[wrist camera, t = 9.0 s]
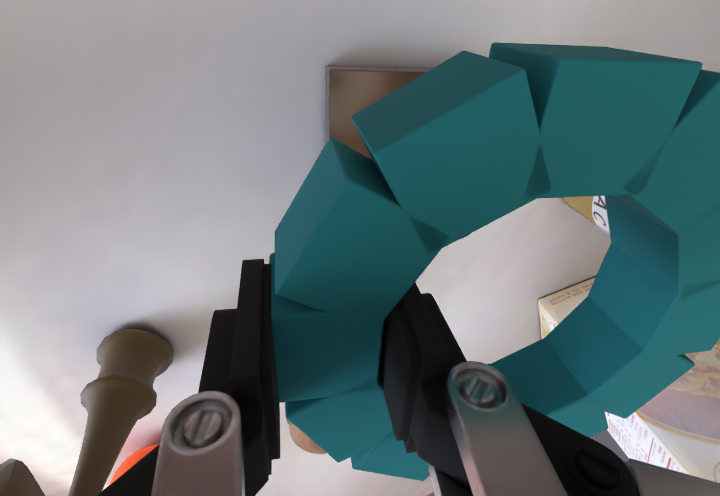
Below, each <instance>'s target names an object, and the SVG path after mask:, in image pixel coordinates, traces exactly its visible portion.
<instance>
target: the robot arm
mask: <svg viewBox="0 0 720 496" xmlns="http://www.w3.org/2000/svg"><path fill="white" fill-rule="evenodd" d="M271 265H272V264H264V259H254V260H243V262H242V270H241V279H240V288H239V296H238V305H237V309H226V310H215V311H214V313H213V317H212V323H211V328H210V333H209V339H208V344H207V349H206V354H205V360H204V365H203V370H202V376H201V381H200V386H199V392H198V394H194V395H192V396H190V397H188V398H186V399H184V400H183V401H181V402H180V403H179V404H178V405H177V406H175V407H174V408H173V409H172V411H171V412H170V413H169V415H168V416H167V418H166V419H165V422H164V425H163V428H162V433H161V439H160V444H159V445H158V446H156V447H155V448H154V449H153V450H152V451H150V452H149V453H148V454H147V455H146V456H144V457H143V458H142V459H141V460H139V461H138V462H137V463H136V464H135V465H133V466H132V467H131V468H130V469H129V470H127V471H126V472H125V473H124V474H123V475H121V476H120V477H119V478H118V479H117V480H115V481H114V482H113V483H112V484H110V485H109V486H108V487H107V488H106V489H104V490H103V491H102V492H101V493H100V494H98V495H97V496H255V495H256V494H257V493H258V491H259V490H260V489H261V488H262V487H263V486H264V485H265V483H266V482H267V481H268V475H270V474H271V460H273V459H280V409H279V395H278V385H277V374H276V364H275V353H274V343H273V332H272V321H271ZM379 374H380V377H381V381H382V384H383V394H384V398H385V401H386V405H387V409H388V412H389V416H390V420H391V423H392V427H393V431H394V434H395V437H396V440H397V441H401V440H403V441H404V445H405V448H406V452H407V453H413V452H417V454H418V457H420V458H421V459H423V460H424V461H426V462H427V463H428V470H429V474H430V478H431V482H432V486H433V490H434V494H435V496H720V483H717V482H714V481H710V480H707V479H703V478H699V477H696V476H692V475H689V474H685V473H681V472H678V471H674V470H671V469H667V468H663V467H660V466H656V465H653V464H649V463H646V462H642V461H638V460H635V459H631V458H630V459H629V460H628V462H623V461H622V460H621V459H620V458H619V457H618V456H617V455H616V454H615V453H614V452H612V450H610V449H608V448H607V447H605V446H604V445H602V444H600V443H599V442H597V441H595V440H593V439H591V438H589V437H587V436H585V435H583V434H581V433H579V432H577V431H575V430H573V429H571V428H569V427H567V426H565V425H563V424H561V423H560V422H558V421H556V420H554V419H552V418H550V417H548V416H546V415H544V414H542V413H540V412H538V411H536V410H534V409H532V408H530V407H528V406H526V405H524V404H522V403H520V401H519V399H518V397H517V395H516V393H515V391H514V389H513V387H512V385H511V384H510V382H509V381H508V379H507V378H506V377H505V376H504V375H503V374H502V373H501V372H500V371H498V370H497V369H495V368H493V367H492V366H490V365H487V364H484V363H481V362H474V361H468V362H467V360H466V359H465V357H464V355H463V353H462V351H461V349H460V347H459V345H458V343H457V341H456V339H455V338H454V336H453V334H452V332H451V330H450V328H449V326H448V324H447V322H446V320H445V319H444V317H443V315H442V313H441V311H440V309H439V307H438V305H437V303H436V301H435V299H434V298H433V296H432V295H431V294H429V293H425V294H421V293H420V291H419V289H418V287H417V285H416V283H415V282H414V284H413V285H412V286H411V287H410V289H409V290H408V291H407V292H406V294H405V295H404V296H403V297H402V299H401V300H400V301H399V302H398V304H397V305H396V306H395V307H393V310H392V311H391V312H390V314H389V315H388V316H387V317H386V319H385V320H384V327H383V336H382V346H381V355H380V365H379Z"/></svg>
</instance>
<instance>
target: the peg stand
mask: <svg viewBox="0 0 720 496" xmlns="http://www.w3.org/2000/svg"><path fill="white" fill-rule="evenodd" d="M431 69H433V68H397V67H361V66H326V143H327V142H328V140H329V138H330V137H333V138H335V139H337V140H338V141H340V142H342V143H343V144H345V145H347V146H349V147H350V148H352V149H354V150H356V151H357V152H359V153H361V154H363V155H364V156H366V157H368V158H370V159H371V160H372V158H371V156H370V154H369V152H368V151H367V149H366V147H365V145H364V143H363V141H362V139H361V137H360V135H359V133H358V131H357V130H356V128H355V126H354V124H353V122H352V120H351V116H352V115H354V114H356V113H358V112H359V111H361V110H363V109H364V108H366V107H368V106H370V105H371V104H373V103H375V102H376V101H378V100H380V99H382V98H383V97H385V96H387V95H388V94H390V93H392V92H394V91H395V90H397V89H399V88H400V87H402V86H404V85H406V84H407V83H409V82H411V81H412V80H414V79H416V78H418V77H419V76H421V75H423V74H424V73H426V72H428V71H430V70H431ZM468 235H469V234H468ZM468 235H466V236H468ZM466 236H464V237H466ZM464 237H462V238H464ZM460 239H461V238H460Z"/></svg>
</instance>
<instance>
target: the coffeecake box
mask: <svg viewBox="0 0 720 496" xmlns="http://www.w3.org/2000/svg"><path fill="white" fill-rule="evenodd" d="M595 278H596V277H595ZM595 278H592V279H590V280H587V281H585V282H582V283H580V284H577V285H574V286H572V287H569V288H567V289H564V290H562V291H559V292H557V293H554V294H552V295H549V296H546V297H544V298H541V299H539V300H538V307H539V315H540V323H541V340H542V339H544V338H545V337H546V336H547V335H548V334H549V333H550V332H551V331H552V330H553V329H554V328H555V327H556V326H557V325H558V324H559V323H560V322H561V321H562V320H563V319H564V318H565V317H566V316H567V315H569V314H570V313H571V312H572V311H573V310H574V309H575V308H576V307H577V306H578V305H579V304H580V303H581V302H582V301H583V300H584V299H585V298H586V297H587V296H588V294H589V291H590V289H591V287H592V285H593V283H594V280H595ZM685 355H686V356H687V357H688V358H689V359H691V360H692V361H693V362H694V363H695V366H694V367H693V368H691V369H690V370H689V371H687V372H686V373H685V374H683V375H682V376H681V377H680V378H678V379H677V380H676V381H674V382H673V383H672V384H670V385H669V386H668V387H667V388H665V389H664V390H663V391H661V392H660V393H659V394H657V395H656V396H655V397H654V398H652V399H651V400H650V401H648V402H647V403H646V404H645V405H643V406H642V407H641V408H639V409H638V410H637V411H635V412H634V413H633V414H632V415H630V416H629V417H628V418H626V419H624V418H622V417H619V416H616V415H613V414H610V413H608V412H605V415H606V419H607V423H608V429H607V430H608V431H609V433H610V434H611V435H612V437H613V438H614V439H615V441H616V442H617V443H618V445H619V446H620V447H621V448H622V450H623V451H624V452H625V454H626V455H627V456H628V457H629V459H630V458H631V459H635V460H638V461H642V462H646V463H649V464H653V465H656V466H660V467H663V468H667V469H671V470H674V471H678V472H681V473H685V474H689V475H692V476H696V477H699V478H703V479H707V480H710V481H714V482H717V483H720V338H719V340H718V341H717V343H716V344H715V345H714V347H713V348H712V349H711V350H710V351H704V352H695V353H687V354H685Z"/></svg>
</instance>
